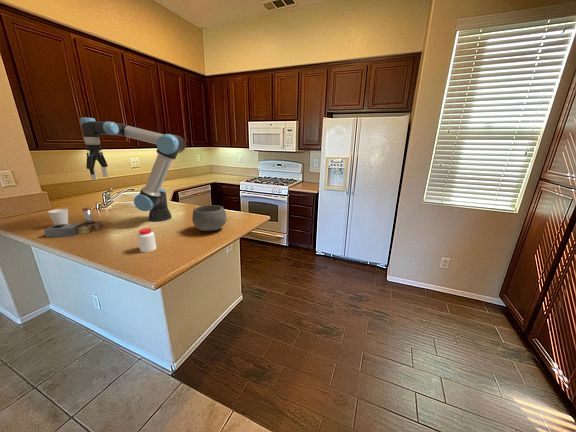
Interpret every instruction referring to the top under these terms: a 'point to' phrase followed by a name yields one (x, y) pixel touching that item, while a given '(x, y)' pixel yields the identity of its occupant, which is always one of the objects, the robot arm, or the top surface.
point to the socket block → (62, 230)
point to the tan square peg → (84, 230)
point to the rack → (94, 225)
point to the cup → (59, 216)
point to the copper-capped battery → (88, 216)
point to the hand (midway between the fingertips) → (100, 178)
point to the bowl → (209, 217)
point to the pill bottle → (146, 240)
